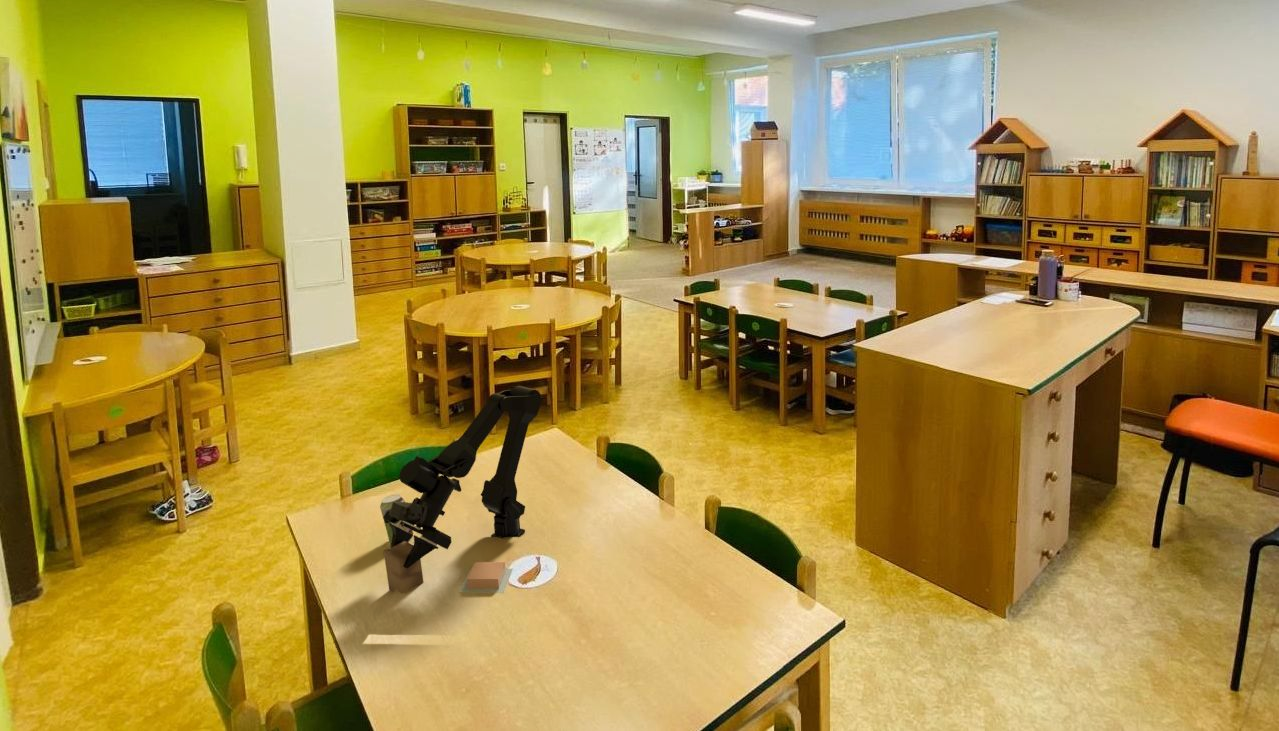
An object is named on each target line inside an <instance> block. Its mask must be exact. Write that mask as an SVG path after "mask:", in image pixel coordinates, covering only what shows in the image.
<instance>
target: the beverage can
mask: <svg viewBox="0 0 1279 731" xmlns="http://www.w3.org/2000/svg"><path fill="white" fill-rule="evenodd" d="M394 501H395V502H406V501H405V499H404V498H403V497H402V495H401V494H391V495H389V496H388V495H387V496H386V497H383V498H382V499H381V500H380V502H381V503H380V506H379V508H380V511H381V515H382V520H383V523H384V527H385V530H386V533H387V537H388V541H389V542H390V543H391V542H392V536H393V532H392V529H391V526H389V523H390V524H392V523H391V522H389V521H387V520H386V519H384V518H383V517H384V515H385V513H386V512H387V511H388V510H390V509H391V507H392V503H393V502H394ZM408 533H410V534H412V535H413V536H414V531H413V530H411V529H410V530H409V531H408Z"/></svg>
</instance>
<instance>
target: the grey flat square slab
mask: <svg viewBox="0 0 1279 731" xmlns="http://www.w3.org/2000/svg"><path fill="white" fill-rule="evenodd" d="M471 570H472V568H470V570H469V572H468V573H467V576H466V578H465V580H464V582H463V583H462V586H461V588H460V590H459V594H504V593H505V590H506V588H507V586H508V582H509V580H510V577H511V575H512V572H513V570H514V568H506V572H505V575H504V578H503V580H502V583H501V585H500V588H499V589H468V582H467V578H468V576H469V574H470V572H471Z"/></svg>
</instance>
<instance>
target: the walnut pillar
mask: <svg viewBox="0 0 1279 731" xmlns="http://www.w3.org/2000/svg"><path fill="white" fill-rule="evenodd" d="M413 545H414V544H411V543H410V542H406V541H404V542H402V543H399V544H397V545H395V546H393V547H391V546H390V547H391V548H390V547H388V548H387V549H384V550H383V555H384V562H385V569H386V578H387V584H388V590H389V591H390V592H392V593H393V594H394V593H395V592H396V591H398V592H399V593H401V594H405V593H406V592H408V591H411V590H413V589H414V588H416V587H418V586H420V585H422V584H424V575H423V567H422V561H421V559H422V558H421V559H419V560H418V561H417V562H415V563H414V564H413V565H412V566H410V567H409V568H405V567H404V564H405V561H406V559H407V557H408V555H409V553H410V551H411V549H412V547H413Z"/></svg>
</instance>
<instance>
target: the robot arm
mask: <svg viewBox="0 0 1279 731" xmlns="http://www.w3.org/2000/svg"><path fill="white" fill-rule="evenodd" d="M542 402H543V396H542V395H541V392H540V391H539V390H537V389H533V388H531V387H526V386H522V385H515V386H514V387H513V388H511V389H507V390H502V391H499V392H497V393H492V394H490V395H489V396H488V398H487V401H486V403H484V406H483V407H482V408H481V410H479V412H478V413H477V414H476V416H475V418H474V419H473V420H472V422H471V423H470V424H469V426H468V427H467V429H465V431H464V432H463V434H462V435H461V436H459V438H458V439H456V440H455V441H453V442H450V443H449V444H448V445H447V446H446V447H445V448H444V449H443V450H442V451H441V452H440V453H439V455H437V456H435V457H433V458H431V460H428V461H427V460H426V459H425V458H423V457H421V456H419V455H416V456H415V457H414V459H413V460H410V461H408V462H407V463H405V465H403V466H402V468H401V469H400V471H399V477H398V478H399V481H400V482H401V483H402V484H403V485H406V486H407V487H409V488H411V489H412V490H414V491H416V492H418V493H419V494H421V496H420V498H419V497H415V498H414V499H413V500H412V502H407V501H405V502H395V501H394V502H393V503H392V507H391V509H390V510H388V511H387V512H386V513H385V515H384V517H383V516H382V519H383V518H384V519H386V520H387V521H389V522H391V523H392V524H390V523H389V526H391V529H392V532H393V536H392V542H390V547H389V548H391V547H393V546H395V545H397V544H399V543H402V542H404V541H406V542H408V543H410V542H409V541H410V540H412V538H413V544H412V545H413V547H412V549H411V551H410V553H409V555H408V557H407V559H406V561H405V564H404V567H405V568H409V567H410V566H412V565H413V564H414V563H415V562H417V561H418V560H419V559H422V558H423V557H425V556H427V555H428V554H430V553H431V552H433V551H434V550H435V549H436V550H438V549H439V547H441V548H443V549H446V550H448V549H449V548H450V546H451V544H452V536H450V535H448V534H447V533H444V532H443V531H440V530H439V529H437V528H436V527H434V526H435V523H436V521H437V520H438V518H439V517H440V516H441V517H443V516H444V515H445V514H446V511H444V510H443V509H444V507H445V506H446V504H447V502H448V500H449V498H450V497H451V495H452V493H453V491H455V492H459V493H460V492H462V486H461V485H460V479H461V478H465V477H466V476H468V475H469V473H470V472H471V470H472V468H473V467H474V464H475V462H476V460H477V451H478V450H479V448H480V447H481V446H482V444H483V443H484V442H485V439H487V437H488V436H489V435H490V433H491V432H492V430H493V429H494V428H495V426H496V425H497V424H498V423H499V421H500V419H501V418H502V416H503V415H504V414H505V413H506V412H507V414H508V418H509V419H508V424H507V428H506V432H505V436H504V441H503V443H502V447H501V452H500V455H499V459H498V464H497V467H496V471H495V474H494V476H493V477H491V479H490V480H488V479H485V481H484V482H483V489H482V491H481V493H480V496H481V503H482V505H483V506H484V508H486V509H487V512H489V513H491V514H494V516H493V528H494V532H493V533H492V534H491V535H490V537H491V538H500V539H505V538H519V537H521V536H522V535H523V534H524V533H525V532H526V530H525V529H524V528H521V523H520V519H521V517H522V516H523V515H525V510H526V505H525V504H523V503H521V502H520V501H518V500H517V497H518V489H517V485H516V480H515V478H516V476H517V475H516V474H517V470H518V468H519V463H520V459H521V454H522V451H523V448H524V444H525V441H526V436H527V432H528V429H529V428H528V427H529V425H530V424H531V422H532V421H533V420H534V419H535V418H536V417H537V415H538V414H539V411H540V408H541V407H542V406H541V405H542ZM384 519H383V520H384ZM410 529H411V530H412V531H413V532H416V533H417V534H419V535H420V536H417V535H415V534H413V535H412V534H410V533H408V531H409V530H410Z"/></svg>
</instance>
